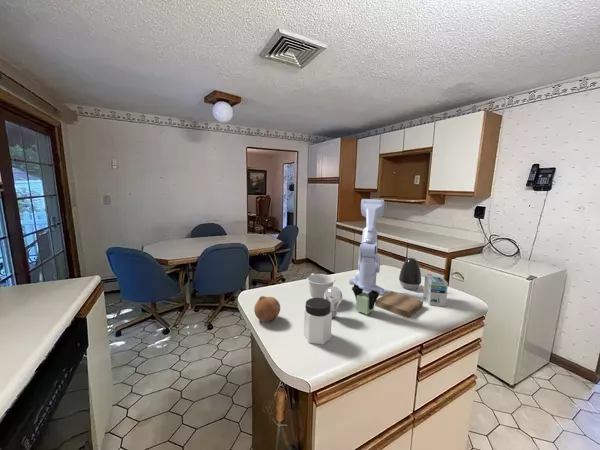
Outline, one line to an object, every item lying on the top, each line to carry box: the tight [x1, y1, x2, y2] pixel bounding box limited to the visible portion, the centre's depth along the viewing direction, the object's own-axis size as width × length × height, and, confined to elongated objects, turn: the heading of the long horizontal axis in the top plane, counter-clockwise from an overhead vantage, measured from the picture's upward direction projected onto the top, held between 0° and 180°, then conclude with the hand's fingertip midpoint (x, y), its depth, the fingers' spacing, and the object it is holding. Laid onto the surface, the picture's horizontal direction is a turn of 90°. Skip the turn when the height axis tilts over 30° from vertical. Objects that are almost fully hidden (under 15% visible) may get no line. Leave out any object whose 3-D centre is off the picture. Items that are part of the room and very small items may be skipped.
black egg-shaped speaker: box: [398, 256, 422, 291], centre depth 129 cm, size 10×10×15 cm
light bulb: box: [324, 286, 343, 319], centre depth 98 cm, size 7×7×12 cm
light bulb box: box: [423, 273, 449, 308], centre depth 115 cm, size 11×7×11 cm, turn 168°
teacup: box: [306, 273, 336, 299], centre depth 114 cm, size 12×15×10 cm
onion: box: [253, 295, 281, 323], centre depth 96 cm, size 10×9×10 cm
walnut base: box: [374, 290, 424, 319], centre depth 109 cm, size 14×14×2 cm
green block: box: [355, 292, 375, 315], centre depth 104 cm, size 5×5×6 cm
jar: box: [303, 297, 333, 345], centre depth 85 cm, size 9×8×12 cm
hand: (365, 306), depth 104 cm, fingers closed on green block, 5 cm apart
